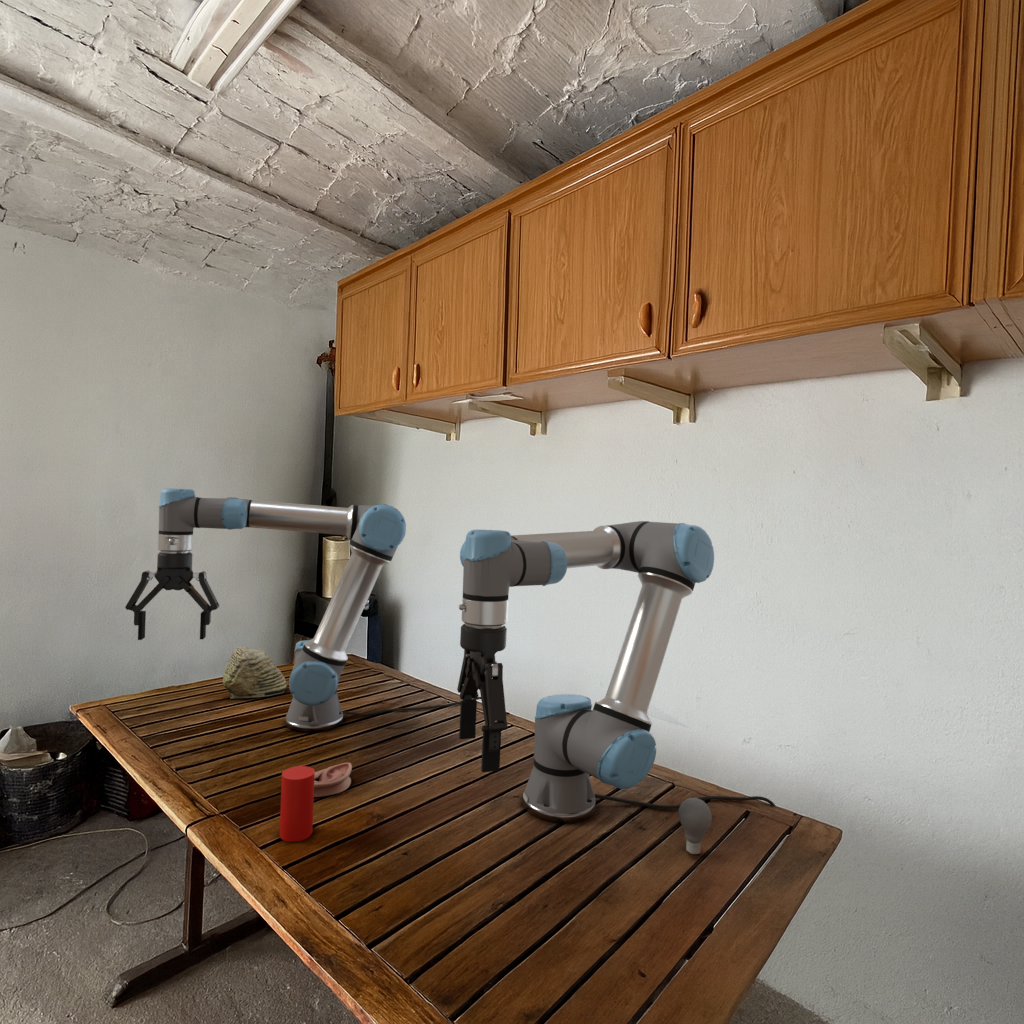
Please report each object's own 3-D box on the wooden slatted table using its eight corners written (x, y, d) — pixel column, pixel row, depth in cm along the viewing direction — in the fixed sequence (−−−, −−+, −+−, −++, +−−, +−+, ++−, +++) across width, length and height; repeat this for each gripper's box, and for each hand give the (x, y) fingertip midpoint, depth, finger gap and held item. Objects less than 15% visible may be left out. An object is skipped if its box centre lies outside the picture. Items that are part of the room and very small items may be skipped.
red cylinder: (276, 830, 120) (278, 769, 120) (307, 822, 123) (309, 763, 123) (283, 845, 115) (286, 781, 115) (316, 836, 118) (318, 775, 118)
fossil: (218, 695, 195) (220, 647, 195) (278, 685, 208) (279, 640, 207) (228, 703, 189) (230, 653, 188) (289, 692, 201) (290, 645, 201)
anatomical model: (276, 775, 134) (304, 754, 145) (275, 793, 134) (304, 771, 145) (334, 783, 131) (358, 761, 142) (333, 802, 131) (357, 779, 142)
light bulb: (672, 843, 121) (674, 791, 121) (702, 843, 121) (705, 792, 121) (683, 861, 115) (685, 807, 115) (715, 861, 115) (717, 807, 115)
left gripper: (112, 551, 147) (109, 642, 148) (227, 554, 154) (224, 641, 154) (123, 549, 155) (120, 635, 155) (233, 551, 161) (230, 634, 161)
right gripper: (444, 611, 114) (438, 728, 114) (483, 642, 90) (477, 789, 91) (484, 610, 116) (478, 725, 117) (532, 640, 93) (526, 784, 93)
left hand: (172, 638), depth 155 cm, fingers open, 13 cm apart
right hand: (477, 753), depth 104 cm, fingers open, 13 cm apart
